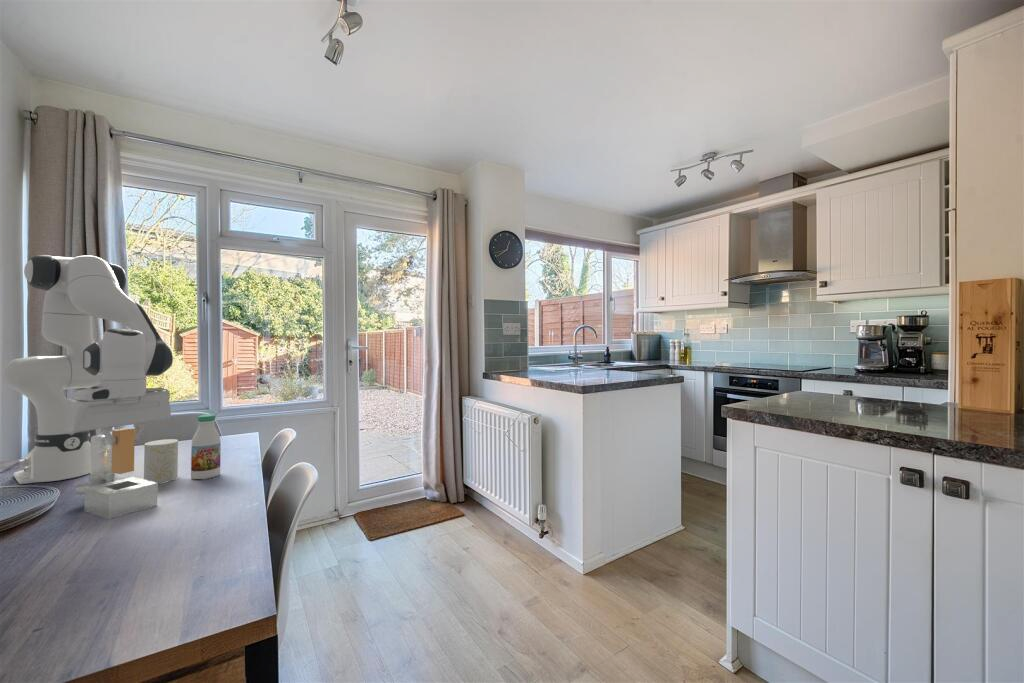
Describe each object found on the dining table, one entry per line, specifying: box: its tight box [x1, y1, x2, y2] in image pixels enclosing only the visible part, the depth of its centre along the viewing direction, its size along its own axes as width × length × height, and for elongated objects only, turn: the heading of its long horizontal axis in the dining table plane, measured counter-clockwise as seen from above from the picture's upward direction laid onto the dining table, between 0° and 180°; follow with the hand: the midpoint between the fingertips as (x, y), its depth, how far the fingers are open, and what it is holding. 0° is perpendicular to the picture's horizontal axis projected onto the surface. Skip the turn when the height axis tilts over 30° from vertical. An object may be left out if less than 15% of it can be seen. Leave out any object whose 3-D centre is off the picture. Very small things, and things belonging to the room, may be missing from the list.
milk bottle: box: [190, 414, 222, 480], centre depth 134 cm, size 8×8×20 cm
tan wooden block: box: [111, 427, 136, 475], centre depth 108 cm, size 4×3×11 cm
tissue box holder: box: [75, 433, 159, 520], centre depth 110 cm, size 21×10×18 cm, turn 66°
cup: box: [143, 438, 179, 484], centre depth 130 cm, size 8×8×12 cm
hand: (123, 442), depth 108 cm, fingers closed on tan wooden block, 3 cm apart
